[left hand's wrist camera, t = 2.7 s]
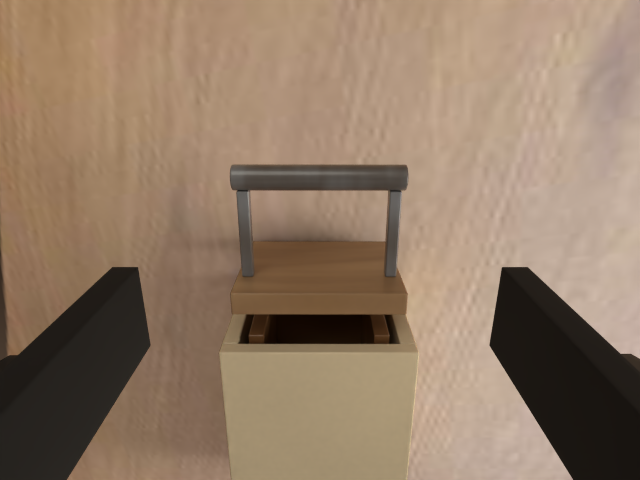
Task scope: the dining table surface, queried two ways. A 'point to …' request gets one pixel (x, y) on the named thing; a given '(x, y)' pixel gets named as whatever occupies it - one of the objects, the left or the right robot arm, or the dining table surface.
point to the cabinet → (318, 406)
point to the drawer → (319, 263)
